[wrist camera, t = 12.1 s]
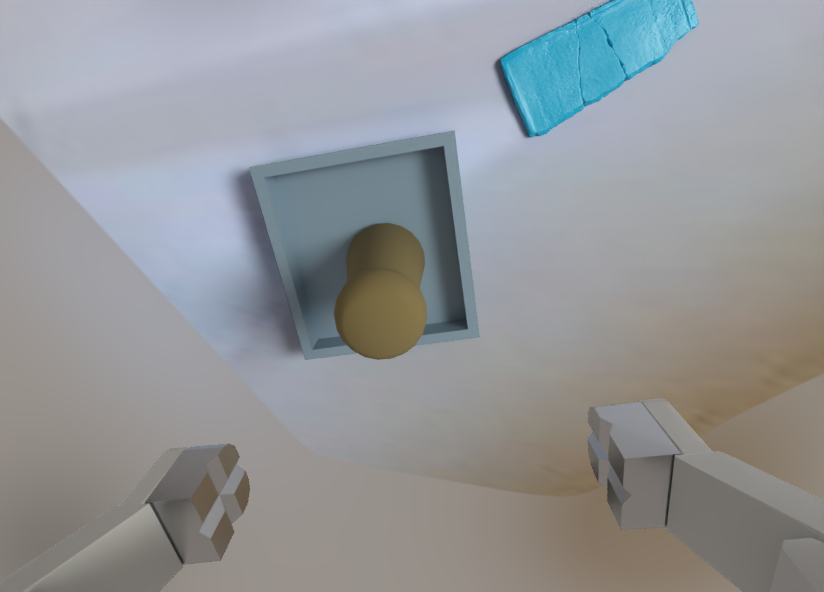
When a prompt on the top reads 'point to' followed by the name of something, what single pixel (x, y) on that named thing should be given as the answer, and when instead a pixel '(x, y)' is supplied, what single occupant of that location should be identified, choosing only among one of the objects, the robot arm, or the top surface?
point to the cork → (382, 293)
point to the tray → (358, 209)
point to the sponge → (591, 57)
